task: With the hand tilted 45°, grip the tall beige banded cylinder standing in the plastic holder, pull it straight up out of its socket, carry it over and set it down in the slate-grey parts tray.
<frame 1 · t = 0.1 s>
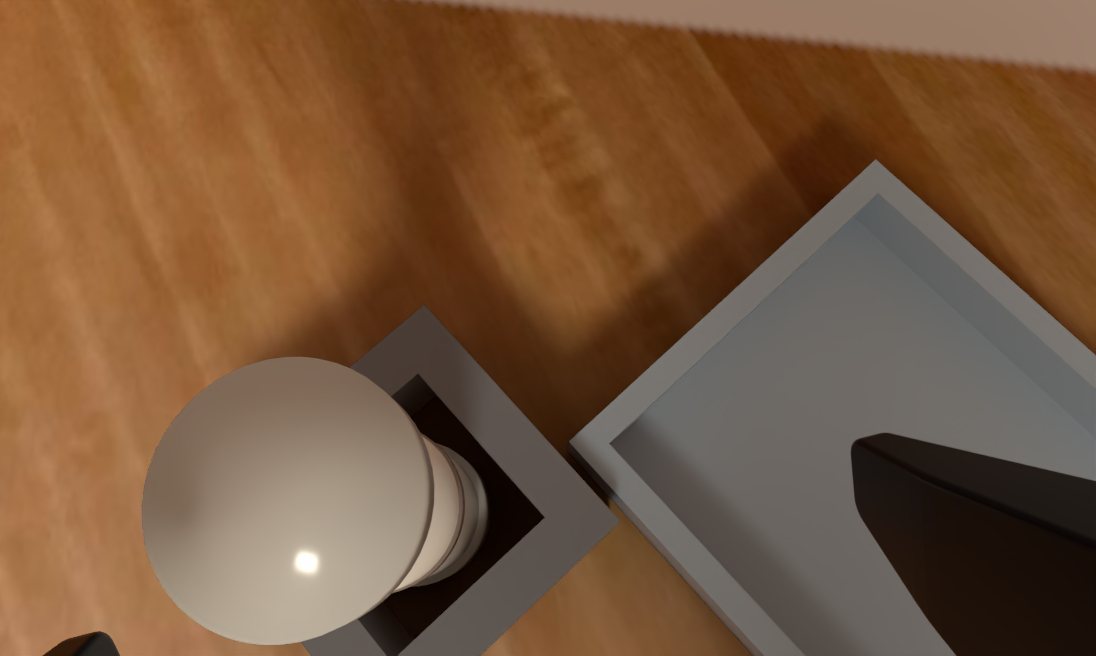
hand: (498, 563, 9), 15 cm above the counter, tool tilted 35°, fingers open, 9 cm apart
parts tray: (909, 513, 23), on the counter
beige banded cylinder: (380, 507, 17), in the fuse holder
fuse holder: (425, 513, 23), on the counter
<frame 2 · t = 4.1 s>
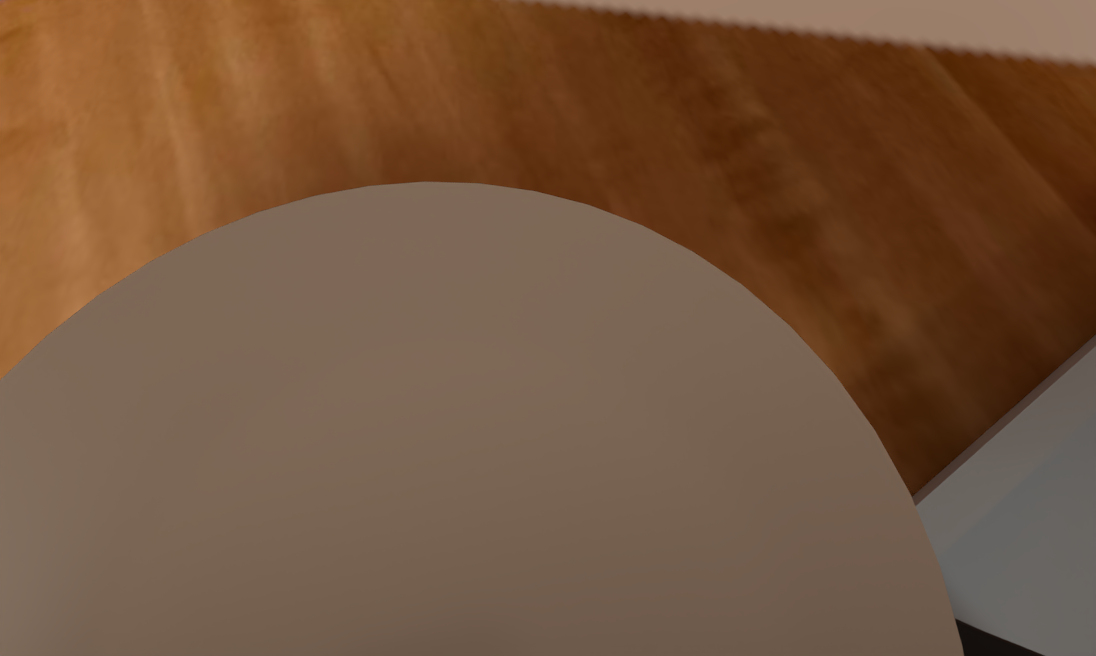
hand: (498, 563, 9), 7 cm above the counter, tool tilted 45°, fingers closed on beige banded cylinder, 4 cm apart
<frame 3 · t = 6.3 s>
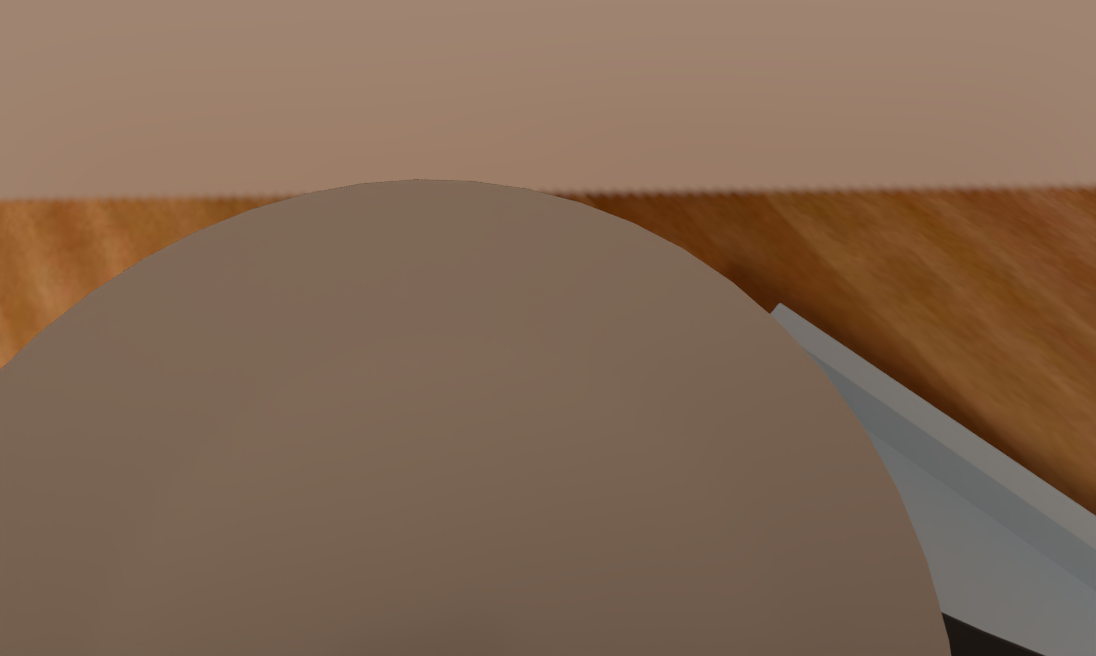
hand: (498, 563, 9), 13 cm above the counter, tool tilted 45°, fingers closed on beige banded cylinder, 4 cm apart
when the fingers open (9 cm above the counter, at t = 8.8 s): beige banded cylinder drops 1 cm, resting on parts tray.
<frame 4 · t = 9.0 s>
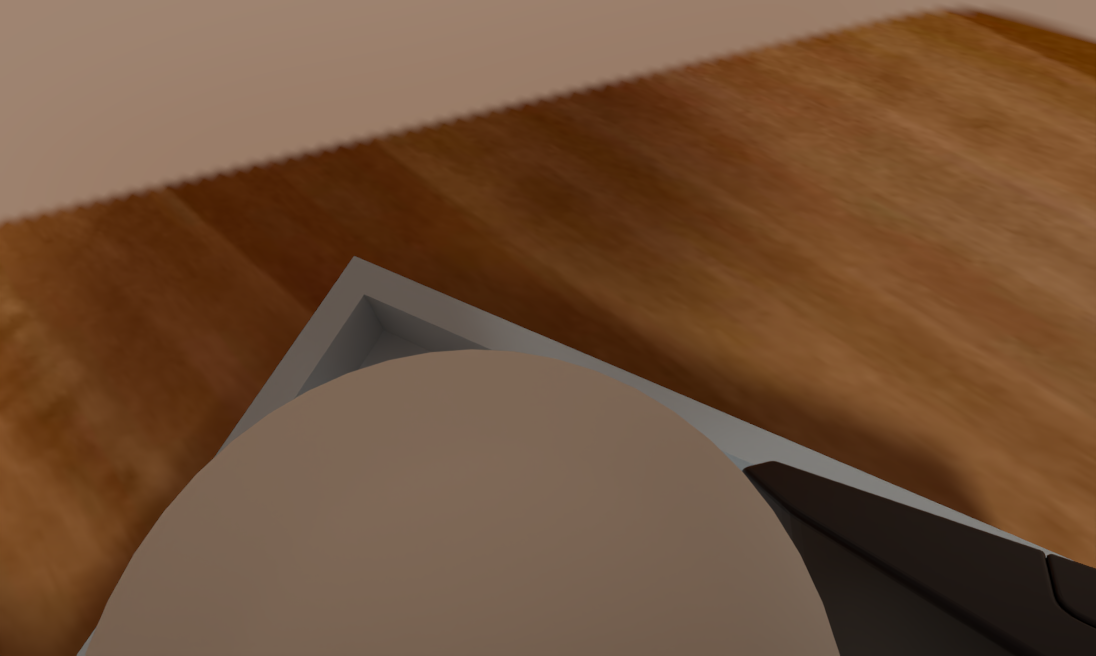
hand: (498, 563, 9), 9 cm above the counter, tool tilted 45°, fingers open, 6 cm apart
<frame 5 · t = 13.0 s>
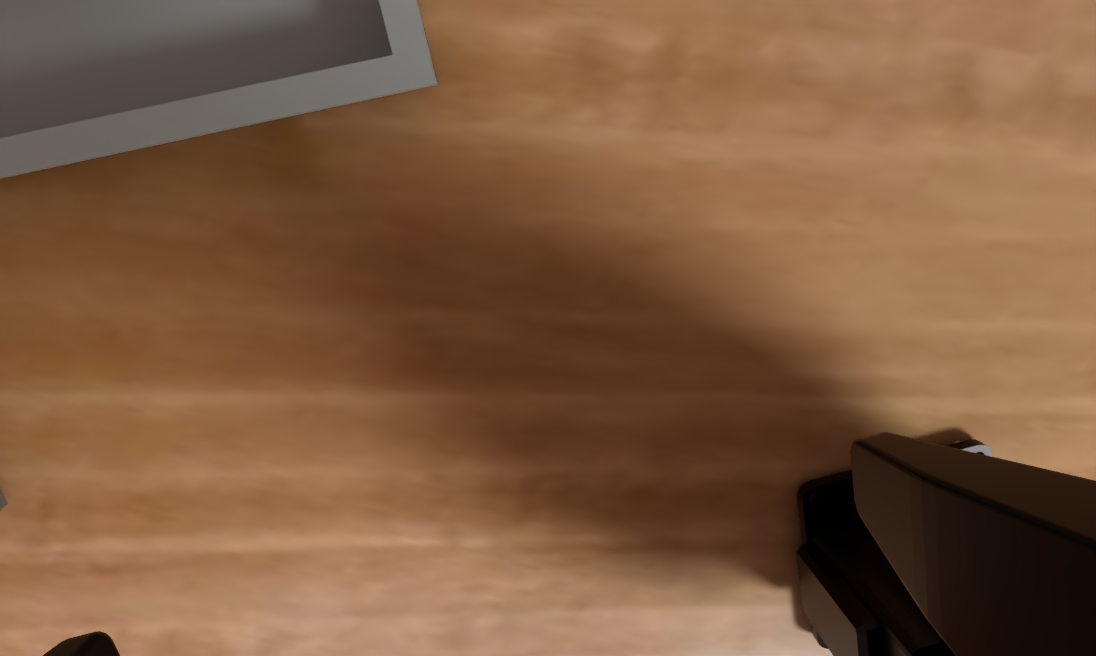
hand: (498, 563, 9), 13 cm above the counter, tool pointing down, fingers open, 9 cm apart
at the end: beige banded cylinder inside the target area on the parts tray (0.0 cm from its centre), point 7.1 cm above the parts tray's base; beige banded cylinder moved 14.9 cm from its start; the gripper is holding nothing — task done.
